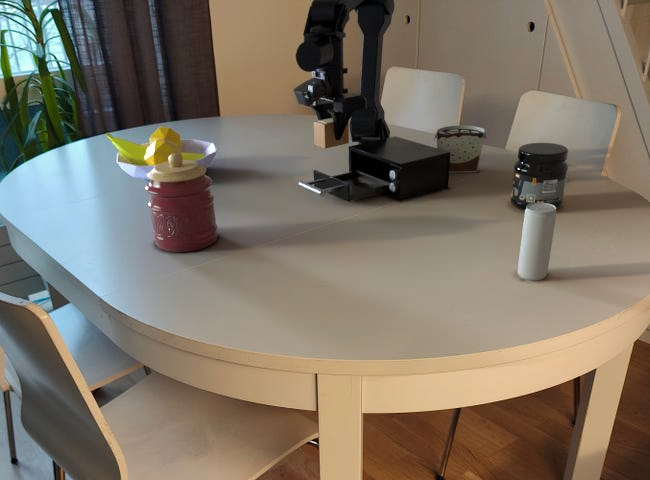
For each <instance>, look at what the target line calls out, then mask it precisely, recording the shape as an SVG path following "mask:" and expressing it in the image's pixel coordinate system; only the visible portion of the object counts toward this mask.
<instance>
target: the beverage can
mask: <svg viewBox="0 0 650 480" xmlns="http://www.w3.org/2000/svg"><path fill="white" fill-rule="evenodd" d="M523 218H524V219H523V224H522V232H521V239H520V240H521V241H520V248H519V255H518V256H519V257H518V263H517V265H518V266H517V274H518V276H519V277H520V278H521V279H523V280H526V281H541V280H543V279H544V278H546V276H547V275H548V271H549V264H550V259H551V251H552V246H553V238H554V231H555V227H556V225H555V224H556V219H557V209H556V207H555V206H554V205H552V204H548V203H532V204H529V205H527V207H526V210H525V211H524V216H523Z"/></svg>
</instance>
